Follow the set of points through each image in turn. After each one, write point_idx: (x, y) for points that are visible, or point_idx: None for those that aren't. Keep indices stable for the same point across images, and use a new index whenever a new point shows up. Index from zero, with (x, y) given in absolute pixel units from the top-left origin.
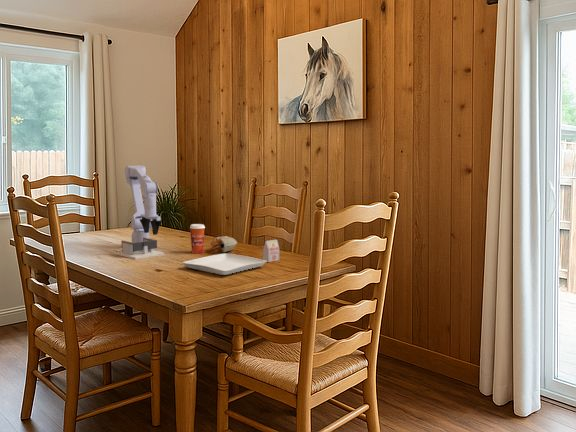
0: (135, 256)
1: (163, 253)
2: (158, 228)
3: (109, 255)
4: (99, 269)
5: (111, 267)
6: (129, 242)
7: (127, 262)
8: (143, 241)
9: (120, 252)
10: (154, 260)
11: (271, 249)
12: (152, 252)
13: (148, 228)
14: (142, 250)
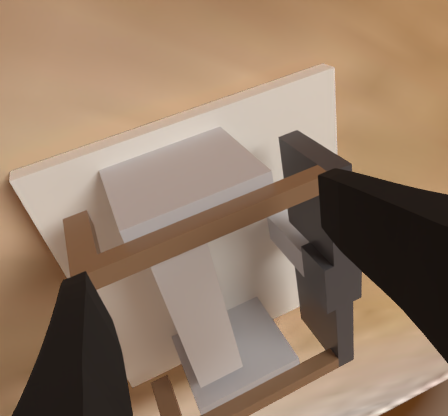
0: None
1: (331, 69)
2: (429, 196)
3: (133, 409)
4: (400, 390)
5: (404, 361)
6: (295, 389)
7: (370, 312)
8: (330, 296)
9: (136, 371)
10: (428, 182)
11: None
12: (266, 158)
13: (90, 329)
14: (285, 254)
